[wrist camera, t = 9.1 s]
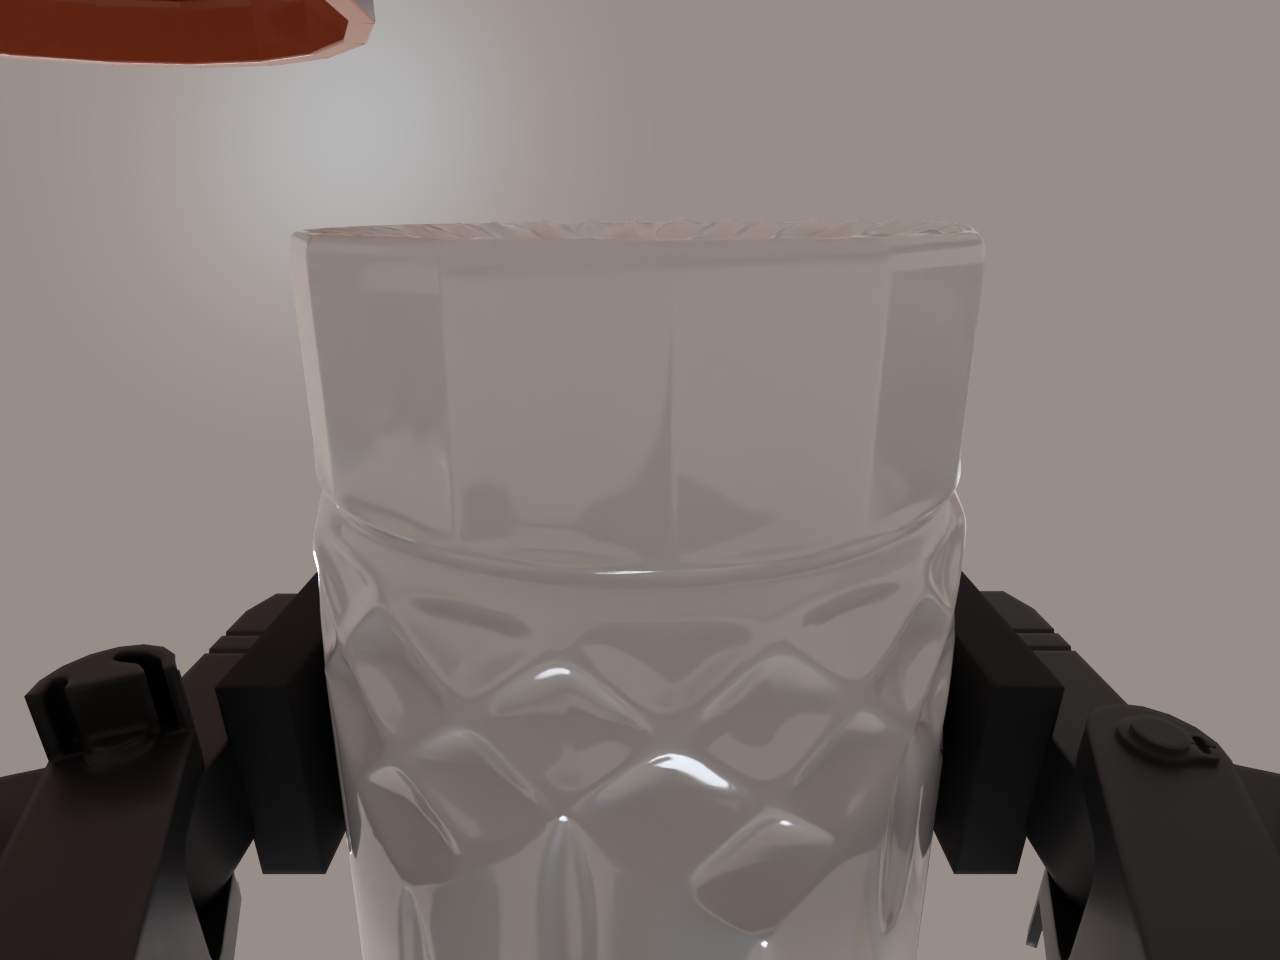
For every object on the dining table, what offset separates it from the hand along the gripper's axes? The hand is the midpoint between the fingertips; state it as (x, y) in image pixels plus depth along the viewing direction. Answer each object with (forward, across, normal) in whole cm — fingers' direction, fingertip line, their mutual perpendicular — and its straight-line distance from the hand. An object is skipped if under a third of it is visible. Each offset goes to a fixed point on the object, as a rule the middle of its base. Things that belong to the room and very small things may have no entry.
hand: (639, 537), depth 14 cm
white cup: (-5, 0, -6) cm, 8 cm away
